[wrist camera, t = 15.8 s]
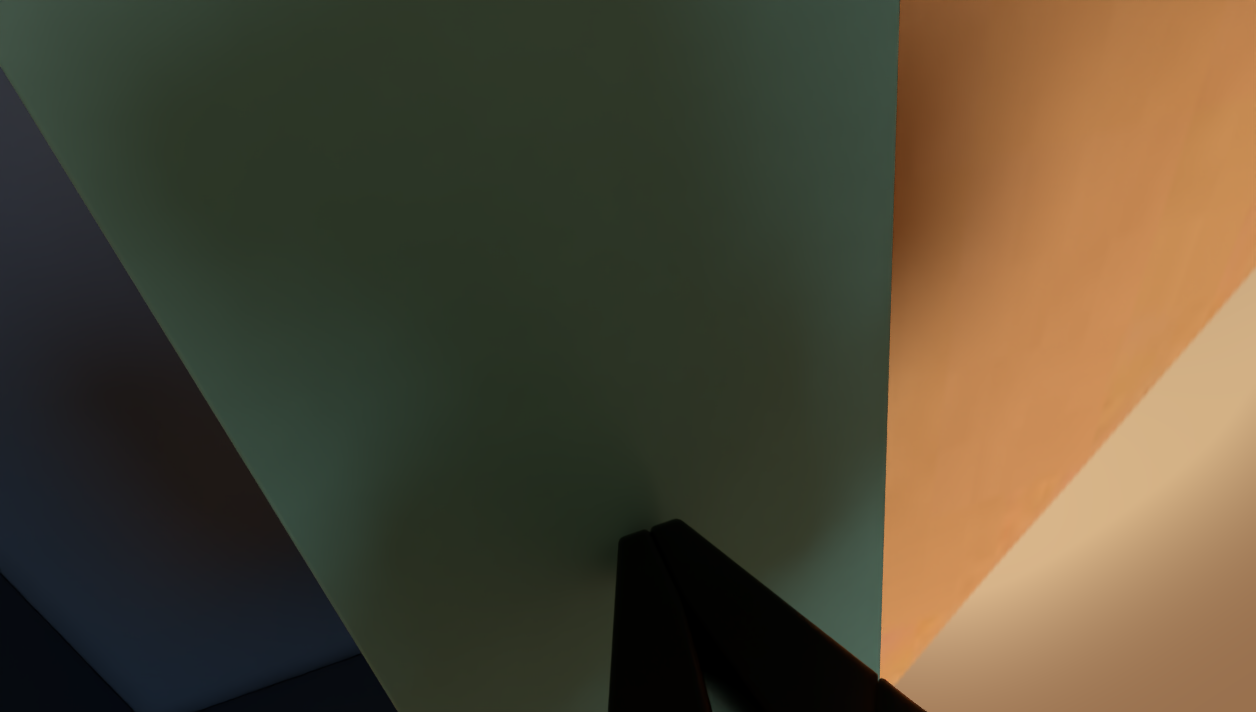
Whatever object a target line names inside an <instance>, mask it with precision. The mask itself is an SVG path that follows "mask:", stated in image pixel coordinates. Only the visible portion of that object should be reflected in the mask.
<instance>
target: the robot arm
mask: <svg viewBox="0 0 1256 712" xmlns="http://www.w3.org/2000/svg"><path fill="white" fill-rule="evenodd" d="M712 710H713V711H712ZM608 712H926V711H925V710H924V709H922V708H921V707H920V706H918V705H917V704H916V703H914V702H913V701H912V700H910V699H909V698H908V697H906V696H905V695H904V694H903V693H901V692H900V691H899V690H898V689H896V688H895V687H894V686H893V685H891V684H890V683H889V682H887V681H886V680H885V679H883V678H881V679H879V680H878V674H877V673H876V672H874V671H873V670H872V669H871V668H869V667H868V666H867V665H865V664H864V663H863V662H862V661H860V660H859V659H858V658H857V657H855V656H854V655H853V654H852V653H850V652H849V651H848V650H846V649H845V648H844V647H843V646H841V645H840V644H839V643H838V642H836V641H835V640H834V639H832V638H831V637H830V636H829V635H827V634H826V633H825V632H824V631H822V630H821V629H820V628H819V627H817V626H816V625H815V624H813V623H812V622H811V621H810V620H808V619H807V618H806V617H805V616H803V615H802V614H801V613H799V612H798V611H797V610H796V609H794V608H793V607H792V606H791V605H789V604H788V603H787V602H786V601H784V600H783V599H782V598H780V597H779V596H778V595H777V594H775V593H774V592H773V591H772V590H770V589H769V588H768V587H766V586H765V585H764V584H763V583H761V582H760V581H759V580H758V579H756V578H755V577H754V576H753V575H751V574H750V573H749V572H747V571H746V570H745V569H744V568H742V567H741V566H740V565H739V564H737V563H736V562H735V561H733V560H732V559H731V558H730V557H728V556H727V555H726V554H725V553H723V552H722V551H721V550H720V549H718V548H717V547H716V546H714V545H713V544H712V543H711V542H709V541H708V540H707V539H706V538H704V537H703V536H702V535H700V534H699V533H698V532H697V531H695V530H694V529H693V528H692V527H690V526H689V525H688V524H687V523H685V522H684V521H682V520H681V519H677V518H676V519H672V520H669V521H666V522H663V523H660V524H657V525H654V526H653V527H652V528H651V529H650V532H649V531H648V530H646V529H643V530H640V531H637V532H634V533H631V534H628V535H625V536H623V537H621V538H620V539H619V542H618V553H617V569H616V585H615V601H614V618H613V634H612V650H611V666H610V682H609V698H608Z"/></svg>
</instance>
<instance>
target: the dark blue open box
mask: <svg viewBox="0 0 1256 712" xmlns="http://www.w3.org/2000/svg"><path fill="white" fill-rule="evenodd" d="M0 712H398V711H397V710H396V708H395V706H394V705H393V703H392V702H391V700H390V698H389V697H388V695H387V693H386V692H385V690H384V689H383V687H382V685H381V684H380V682H379V680H378V679H377V677H376V676H375V674H374V672H373V671H372V669H371V667H370V666H369V664H368V663H367V661H366V659H365V658H364V656H363V654H362V653H361V651H360V650H359V648H358V646H357V645H356V643H355V641H354V640H353V638H352V637H351V635H350V633H349V632H348V630H347V628H346V627H345V625H344V624H343V622H342V620H341V619H340V617H339V615H338V614H337V612H336V611H335V609H334V607H333V606H332V604H331V603H330V601H329V599H328V598H327V596H326V594H325V593H324V591H323V590H322V588H321V586H320V585H319V583H318V581H317V580H316V578H315V577H314V575H313V573H312V572H311V570H310V568H309V567H308V565H307V564H306V562H305V560H304V559H303V557H302V555H301V554H300V552H299V551H298V549H297V547H296V546H295V544H294V542H293V541H292V539H291V538H290V536H289V534H288V533H287V531H286V529H285V528H284V526H283V525H282V523H281V521H280V520H279V518H278V516H277V515H276V513H275V512H274V510H273V508H272V507H271V505H270V503H269V502H268V500H267V499H266V497H265V495H264V494H263V492H262V490H261V489H260V487H259V486H258V484H257V482H256V481H255V479H254V477H253V476H252V474H251V473H250V471H249V469H248V468H247V466H246V465H245V463H244V461H243V460H242V458H241V456H240V455H239V453H238V452H237V450H236V448H235V447H234V445H233V443H232V442H231V440H230V439H229V437H228V435H227V434H226V432H225V430H224V429H223V427H222V426H221V424H220V422H219V421H218V419H217V417H216V416H215V414H214V413H213V411H212V409H211V408H210V406H209V404H208V403H207V401H206V400H205V398H204V396H203V395H202V393H201V391H200V390H199V388H198V387H197V385H196V383H195V382H194V380H193V378H192V377H191V375H190V374H189V372H188V370H187V369H186V367H185V365H184V364H183V362H182V361H181V359H180V357H179V356H178V354H177V352H176V351H175V349H174V348H173V346H172V344H171V343H170V341H169V339H168V338H167V336H166V335H165V333H164V331H163V330H162V328H161V327H160V325H159V323H158V322H157V320H156V318H155V317H154V315H153V314H152V312H151V310H150V309H149V307H148V305H147V304H146V302H145V301H144V299H143V297H142V296H141V294H140V292H139V291H138V289H137V288H136V286H135V284H134V283H133V281H132V279H131V278H130V276H129V275H128V273H127V271H126V270H125V268H124V266H123V265H122V263H121V262H120V260H119V258H118V257H117V255H116V253H115V252H114V250H113V249H112V247H111V245H110V244H109V242H108V240H107V239H106V237H105V236H104V234H103V232H102V231H101V229H100V227H99V226H98V224H97V223H96V221H95V219H94V218H93V216H92V214H91V213H90V211H89V210H88V208H87V206H86V205H85V203H84V201H83V200H82V198H81V197H80V195H79V193H78V192H77V190H76V188H75V187H74V185H73V184H72V182H71V180H70V179H69V177H68V176H67V174H66V172H65V171H64V169H63V167H62V166H61V164H60V163H59V161H58V159H57V158H56V156H55V154H54V153H53V151H52V150H51V148H50V146H49V145H48V143H47V141H46V140H45V138H44V137H43V135H42V133H41V132H40V130H39V128H38V127H37V125H36V124H35V122H34V120H33V119H32V117H31V115H30V114H29V112H28V111H27V109H26V107H25V106H24V104H23V102H22V101H21V99H20V98H19V96H18V94H17V93H16V91H15V89H14V88H13V86H12V85H11V83H10V81H9V80H8V78H7V76H6V75H5V73H4V72H3V70H2V68H1V67H0Z"/></svg>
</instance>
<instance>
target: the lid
mask: <svg viewBox="0 0 1256 712" xmlns="http://www.w3.org/2000/svg"><path fill="white" fill-rule="evenodd" d="M899 14H900V0H0V67H1V68H2V70H3V72H4V73H5V75H6V76H7V78H8V80H9V81H10V83H11V85H12V86H13V88H14V89H15V91H16V93H17V94H18V96H19V98H20V99H21V101H22V102H23V104H24V106H25V107H26V109H27V111H28V112H29V114H30V115H31V117H32V119H33V120H34V122H35V124H36V125H37V127H38V128H39V130H40V132H41V133H42V135H43V137H44V138H45V140H46V141H47V143H48V145H49V146H50V148H51V150H52V151H53V153H54V154H55V156H56V158H57V159H58V161H59V163H60V164H61V166H62V167H63V169H64V171H65V172H66V174H67V176H68V177H69V179H70V180H71V182H72V184H73V185H74V187H75V188H76V190H77V192H78V193H79V195H80V197H81V198H82V200H83V201H84V203H85V205H86V206H87V208H88V210H89V211H90V213H91V214H92V216H93V218H94V219H95V221H96V223H97V224H98V226H99V227H100V229H101V231H102V232H103V234H104V236H105V237H106V239H107V240H108V242H109V244H110V245H111V247H112V249H113V250H114V252H115V253H116V255H117V257H118V258H119V260H120V262H121V263H122V265H123V266H124V268H125V270H126V271H127V273H128V275H129V276H130V278H131V279H132V281H133V283H134V284H135V286H136V288H137V289H138V291H139V292H140V294H141V296H142V297H143V299H144V301H145V302H146V304H147V305H148V307H149V309H150V310H151V312H152V314H153V315H154V317H155V318H156V320H157V322H158V323H159V325H160V327H161V328H162V330H163V331H164V333H165V335H166V336H167V338H168V339H169V341H170V343H171V344H172V346H173V348H174V349H175V351H176V352H177V354H178V356H179V357H180V359H181V361H182V362H183V364H184V365H185V367H186V369H187V370H188V372H189V374H190V375H191V377H192V378H193V380H194V382H195V383H196V385H197V387H198V388H199V390H200V391H201V393H202V395H203V396H204V398H205V400H206V401H207V403H208V404H209V406H210V408H211V409H212V411H213V413H214V414H215V416H216V417H217V419H218V421H219V422H220V424H221V426H222V427H223V429H224V430H225V432H226V434H227V435H228V437H229V439H230V440H231V442H232V443H233V445H234V447H235V448H236V450H237V452H238V453H239V455H240V456H241V458H242V460H243V461H244V463H245V465H246V466H247V468H248V469H249V471H250V473H251V474H252V476H253V477H254V479H255V481H256V482H257V484H258V486H259V487H260V489H261V490H262V492H263V494H264V495H265V497H266V499H267V500H268V502H269V503H270V505H271V507H272V508H273V510H274V512H275V513H276V515H277V516H278V518H279V520H280V521H281V523H282V525H283V526H284V528H285V529H286V531H287V533H288V534H289V536H290V538H291V539H292V541H293V542H294V544H295V546H296V547H297V549H298V551H299V552H300V554H301V555H302V557H303V559H304V560H305V562H306V564H307V565H308V567H309V568H310V570H311V572H312V573H313V575H314V577H315V578H316V580H317V581H318V583H319V585H320V586H321V588H322V590H323V591H324V593H325V594H326V596H327V598H328V599H329V601H330V603H331V604H332V606H333V607H334V609H335V611H336V612H337V614H338V615H339V617H340V619H341V620H342V622H343V624H344V625H345V627H346V628H347V630H348V632H349V633H350V635H351V637H352V638H353V640H354V641H355V643H356V645H357V646H358V648H359V650H360V651H361V653H362V654H363V656H364V658H365V659H366V661H367V663H368V664H369V666H370V667H371V669H372V671H373V672H374V674H375V676H376V677H377V679H378V680H379V682H380V684H381V685H382V687H383V689H384V690H385V692H386V693H387V695H388V697H389V698H390V700H391V702H392V703H393V705H394V706H395V708H396V710H397V711H398V712H608V698H609V682H610V666H611V650H612V634H613V618H614V601H615V585H616V569H617V553H618V542H619V539H620V538H621V537H623V536H625V535H628V534H631V533H634V532H637V531H640V530H643V529H646V530H648V531H649V532H650V529H651V528H652V527H653V526H654V525H657V524H660V523H663V522H666V521H669V520H672V519H676V518H677V519H681V520H682V521H684V522H685V523H687V524H688V525H689V526H690V527H692V528H693V529H694V530H695V531H697V532H698V533H699V534H700V535H702V536H703V537H704V538H706V539H707V540H708V541H709V542H711V543H712V544H713V545H714V546H716V547H717V548H718V549H720V550H721V551H722V552H723V553H725V554H726V555H727V556H728V557H730V558H731V559H732V560H733V561H735V562H736V563H737V564H739V565H740V566H741V567H742V568H744V569H745V570H746V571H747V572H749V573H750V574H751V575H753V576H754V577H755V578H756V579H758V580H759V581H760V582H761V583H763V584H764V585H765V586H766V587H768V588H769V589H770V590H772V591H773V592H774V593H775V594H777V595H778V596H779V597H780V598H782V599H783V600H784V601H786V602H787V603H788V604H789V605H791V606H792V607H793V608H794V609H796V610H797V611H798V612H799V613H801V614H802V615H803V616H805V617H806V618H807V619H808V620H810V621H811V622H812V623H813V624H815V625H816V626H817V627H819V628H820V629H821V630H822V631H824V632H825V633H826V634H827V635H829V636H830V637H831V638H832V639H834V640H835V641H836V642H838V643H839V644H840V645H841V646H843V647H844V648H845V649H846V650H848V651H849V652H850V653H852V654H853V655H854V656H855V657H857V658H858V659H859V660H860V661H862V662H863V663H864V664H865V665H867V666H868V667H869V668H871V669H872V670H873V671H874V672H876V673H877V674H878V680H879V679H880V646H881V613H882V580H883V546H884V513H885V480H886V447H887V413H888V380H889V347H890V313H891V280H892V247H893V213H894V180H895V147H896V114H897V80H898V47H899ZM712 711H713V710H712Z"/></svg>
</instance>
